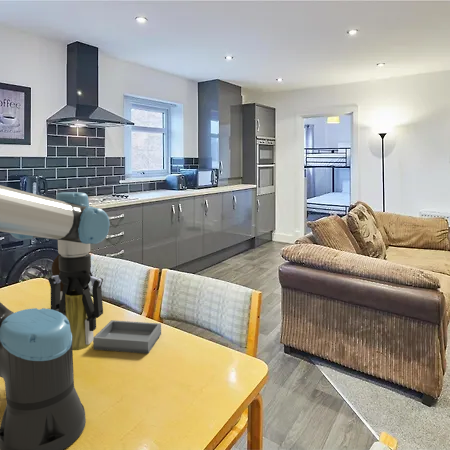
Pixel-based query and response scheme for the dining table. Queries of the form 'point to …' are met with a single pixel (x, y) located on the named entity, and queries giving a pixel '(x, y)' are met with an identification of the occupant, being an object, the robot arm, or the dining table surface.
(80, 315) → the vase
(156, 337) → the tray
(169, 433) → the dining table surface
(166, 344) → the dining table surface
